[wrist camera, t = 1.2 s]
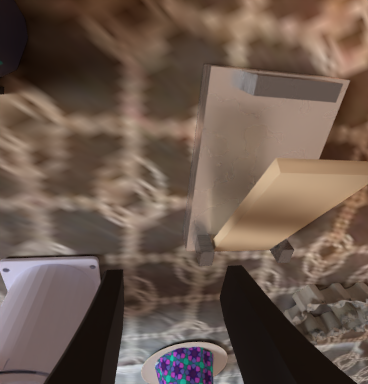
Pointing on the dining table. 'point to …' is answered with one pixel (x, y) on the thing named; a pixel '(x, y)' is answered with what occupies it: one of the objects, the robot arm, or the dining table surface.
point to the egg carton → (330, 321)
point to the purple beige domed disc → (185, 364)
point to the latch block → (251, 141)
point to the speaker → (11, 37)
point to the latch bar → (289, 201)
